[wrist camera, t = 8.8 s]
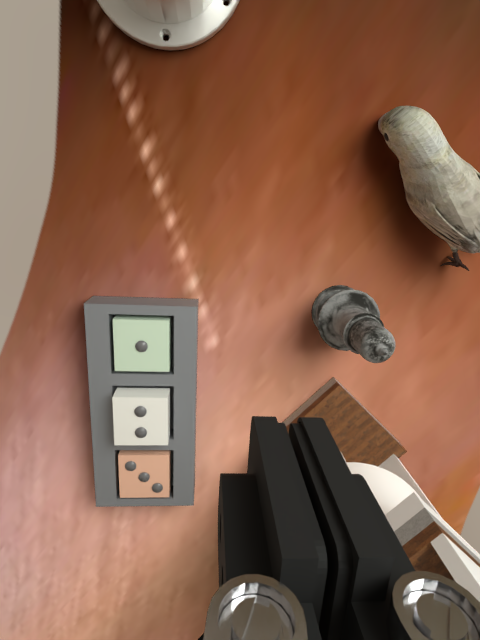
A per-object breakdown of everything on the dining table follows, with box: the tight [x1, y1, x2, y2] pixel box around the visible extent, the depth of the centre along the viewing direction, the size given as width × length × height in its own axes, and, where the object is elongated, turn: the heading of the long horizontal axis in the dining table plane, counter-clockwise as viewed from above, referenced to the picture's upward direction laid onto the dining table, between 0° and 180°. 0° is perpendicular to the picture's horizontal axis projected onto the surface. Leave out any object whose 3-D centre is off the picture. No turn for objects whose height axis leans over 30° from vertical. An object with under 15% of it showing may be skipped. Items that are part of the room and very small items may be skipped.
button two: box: [112, 388, 170, 445], centre depth 39 cm, size 5×5×2 cm
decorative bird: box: [378, 106, 480, 271], centre depth 35 cm, size 5×16×8 cm, turn 38°
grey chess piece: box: [312, 285, 395, 363], centre depth 35 cm, size 6×6×12 cm
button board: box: [84, 296, 198, 507], centre depth 41 cm, size 22×10×3 cm, turn 177°
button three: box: [118, 450, 171, 498], centre depth 42 cm, size 5×5×2 cm
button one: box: [113, 314, 171, 372], centre depth 38 cm, size 5×5×2 cm
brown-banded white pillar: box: [282, 377, 480, 602], centre depth 29 cm, size 11×11×35 cm
